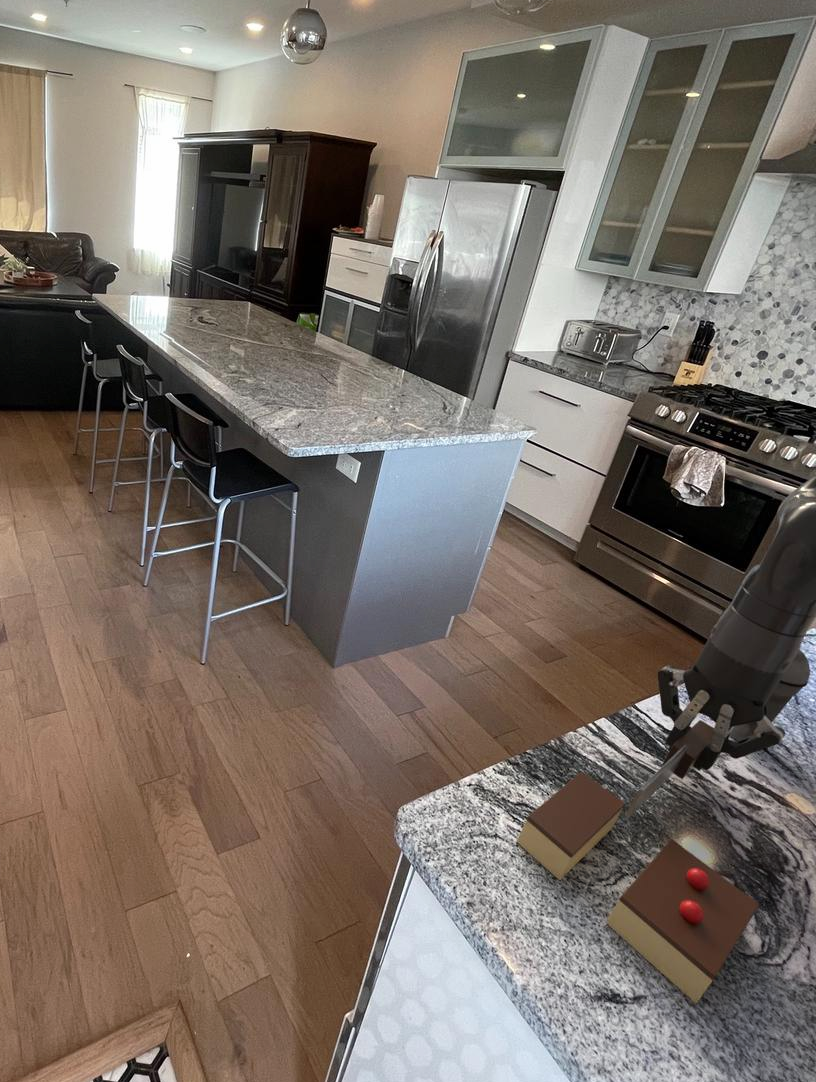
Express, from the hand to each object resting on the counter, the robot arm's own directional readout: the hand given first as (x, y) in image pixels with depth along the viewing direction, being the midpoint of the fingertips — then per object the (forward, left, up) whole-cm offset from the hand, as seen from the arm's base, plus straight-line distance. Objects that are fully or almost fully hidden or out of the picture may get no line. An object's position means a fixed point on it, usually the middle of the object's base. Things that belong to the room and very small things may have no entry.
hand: (685, 757), depth 80 cm
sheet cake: (+23, +8, -3) cm, 24 cm away
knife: (+7, 0, 0) cm, 7 cm away
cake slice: (+23, -3, -3) cm, 23 cm away
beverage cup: (-18, +1, -3) cm, 18 cm away
